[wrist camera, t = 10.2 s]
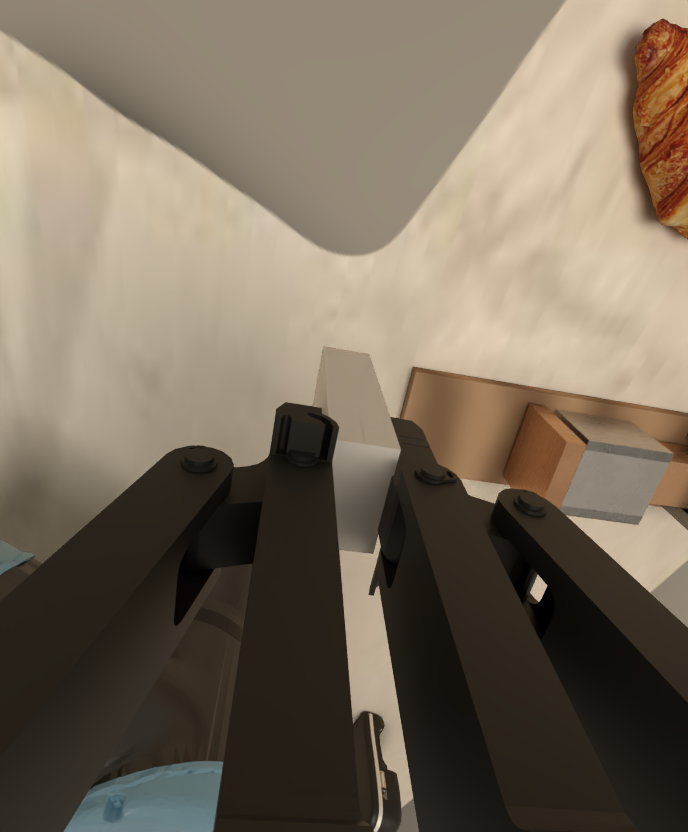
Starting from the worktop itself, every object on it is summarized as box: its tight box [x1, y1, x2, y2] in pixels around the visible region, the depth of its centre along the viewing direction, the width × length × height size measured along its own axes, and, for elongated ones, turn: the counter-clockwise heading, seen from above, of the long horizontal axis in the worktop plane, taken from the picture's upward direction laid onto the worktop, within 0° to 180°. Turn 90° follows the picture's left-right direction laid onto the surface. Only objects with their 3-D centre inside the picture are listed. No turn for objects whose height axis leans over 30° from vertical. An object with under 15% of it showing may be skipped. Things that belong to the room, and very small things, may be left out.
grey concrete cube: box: [554, 409, 674, 525], centre depth 43 cm, size 7×7×6 cm
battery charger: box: [353, 713, 401, 832], centre depth 56 cm, size 7×4×11 cm, turn 154°
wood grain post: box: [503, 404, 688, 509], centre depth 43 cm, size 20×7×7 cm, turn 79°
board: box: [400, 367, 688, 507], centre depth 46 cm, size 32×9×1 cm, turn 79°
